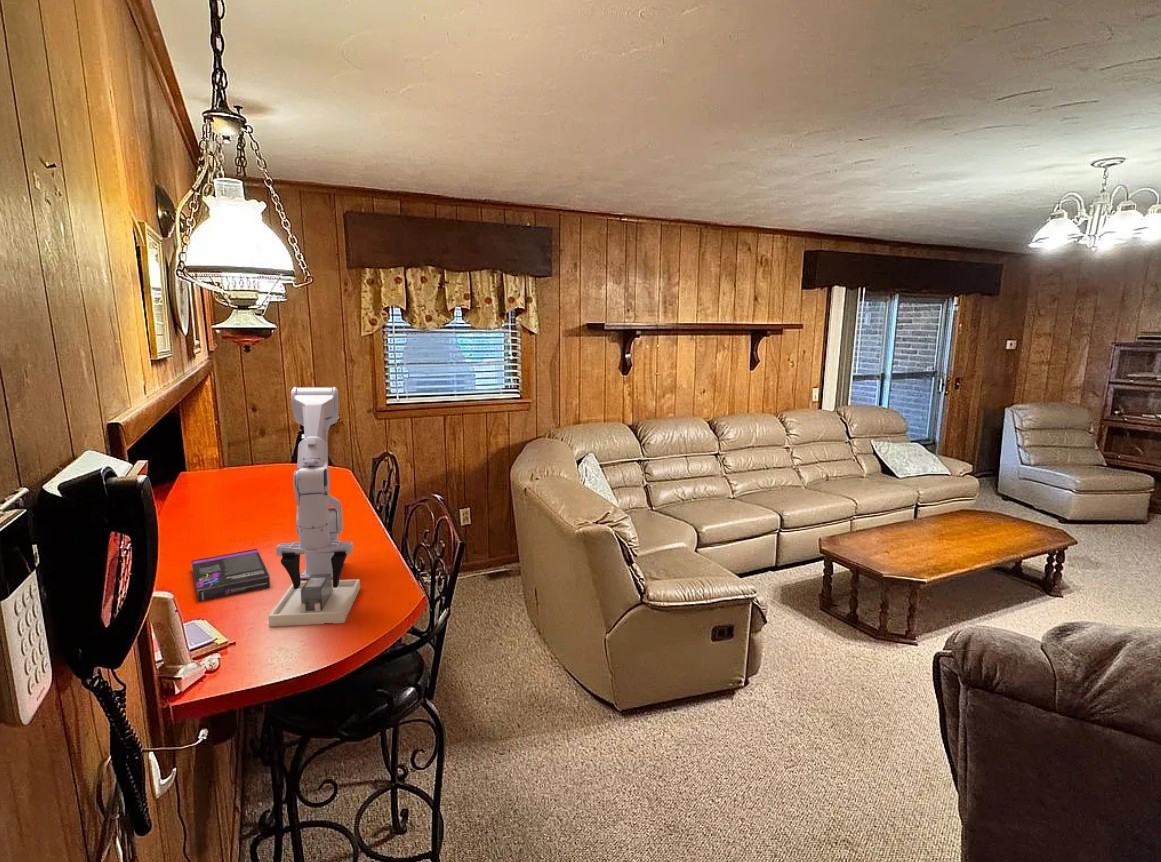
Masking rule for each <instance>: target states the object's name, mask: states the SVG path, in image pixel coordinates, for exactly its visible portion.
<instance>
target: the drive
mask: <svg viewBox="0 0 1161 862" xmlns="http://www.w3.org/2000/svg"><path fill="white" fill-rule="evenodd" d="M331 580H332V578H331V574H311V576H310V577H309V579H306V581H307V582H306V583H305V585H304V586H303V587H302V589H301V604H303V603H305V605H306V611H315V604H316V603H320V610H323V608H324V607H325V605H326V603H327V601H328V599H329V598H330V596H331V594H332V582H331Z"/></svg>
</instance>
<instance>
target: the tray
mask: <svg viewBox="0 0 1161 862" xmlns="http://www.w3.org/2000/svg"><path fill="white" fill-rule="evenodd" d="M306 582H307V580H305V581H303V580H301V584H300V586H299V588H298V589H294V586H293V583H292V582H291V584H290V586H289V587H288V588H287V590H286V591H285V593H284V594H283V596H282V597H280V600H279V601H278V602H277V603H276V605H275V606H274V607H273V609H272V610H271V612H270V613H269V615H268V627H281V626H282V627H284V626H285V627H286V626H305V625H306V626H308V625H325V624H324V623H333V624H345V622H346V620H347V618H348V616H349V614H350V611H351V609H352V607H353V605H354V603H355V601H356V598H357V596H358V595H359V592H360V589H361V583H360V582H361V581H360V579H359V578H358V579H339V585H338V586H337V588H333V579H331V582H332V594H331V596H330V598H329V599H328V601H327V603H326V605H325V607H324V608H323V610H320V603H316V604H315V611H306V605H305V603H303V604H301V589H302V587H303V586H304V585H305V583H306ZM353 602H354V603H353ZM348 613H349V614H348ZM347 615H348V616H347ZM346 617H347V618H346Z"/></svg>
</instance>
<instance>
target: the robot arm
mask: <svg viewBox="0 0 1161 862" xmlns="http://www.w3.org/2000/svg"><path fill="white" fill-rule="evenodd" d="M290 400H291V401H290V404H291V405H290V406H291V411H292V414H293V418H294V420H295V423H296V424H298V425H301V426H303V431H304V433H303V435H304V438H303V439H302V440H301V441H299V443H298V447H297V463H296V464H297V465H296V466H297V467H296V469H295V470H294V472H293V477H292V478H293V491H294V496H295V504H296V505H297V506H296V516H295V517H296V518H295V527H296V528H295V529H296V535H297V536H298V539H299V540H298V541H295V542H288V543H287V542H286V543H279V544H277V546H275V554H276V557H281V559H280V563H281V566H282V567H284V569H285V571H286V572H287V574H288V575H289V577H290V580H291V584H292V583H293V586H294V589H298V588H299V586H300V584H301V581H302V580H308V579H309V577H310V576H311V574H331V579H332V580H333V588H337V586H338V585H339V580H340V578H341V573H342V570H343V566H344V564H345V561H346V558H347V557H348V555H351V554H352V553H353V550H354V546H353V544H354V543H353V541H341V540H340V537H339V535H341V533H342V532H343V526H344V525H343V509H342V502H341V501H340V500H339V499H338V498H336V497H335V496H333V495H331V494H330V490H331V481H330V480H331V477H330V476H331V475H330V470H329V454H328V453H329V448H328V447H329V446H328V445H329V444H328V433H329V429H330V427H331V426H332V425H334V424H336V423H338V419H339V406H340V405H339V390H338V388H337V387H336V386H333V387H297V386H293V388H292V389H291V392H290ZM330 507H331V508H330ZM301 555H304V571H302V573H300V572H301V570H300V568H301V567H300V566H301V565H300V564H301V562H300V561H301Z"/></svg>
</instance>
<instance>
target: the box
mask: <svg viewBox="0 0 1161 862" xmlns="http://www.w3.org/2000/svg"><path fill="white" fill-rule="evenodd" d="M191 569H192V576H193V582H194V586H195V592H196V596H197V600H198V602H203V601H204V602H205V601H208V600H213V599H219V598H223V597H228V596H229V597H230V596H232V595H238V594H243V593H247V592H253V591H258V590H262V588H264V589H267V588H268V587H269V588H270V587H271V586H270V585H271V583H270V574H269V572H268V570H267V568H266V566H265V564H264V561H263V559H262V556H261V555H260V551H259V550H258V548H253V549H248V550H243V551H242V550H241V551H237V552H232V553H226V554H222V555H215V556H210V557H204V558H198V559H193V560H191Z"/></svg>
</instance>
